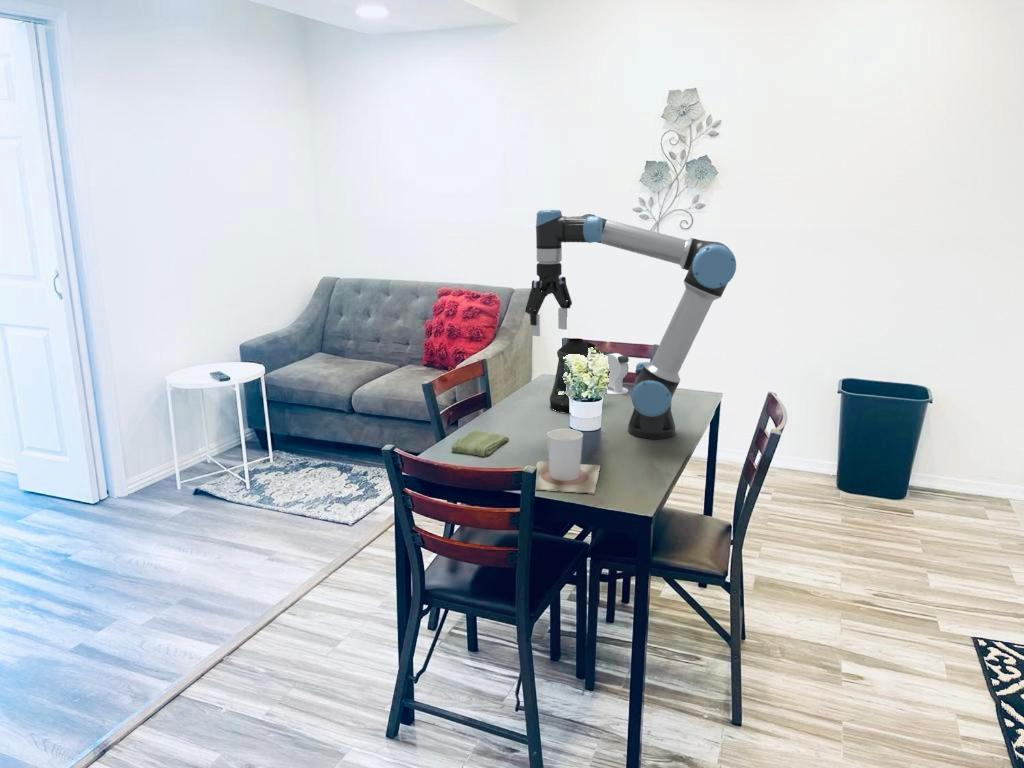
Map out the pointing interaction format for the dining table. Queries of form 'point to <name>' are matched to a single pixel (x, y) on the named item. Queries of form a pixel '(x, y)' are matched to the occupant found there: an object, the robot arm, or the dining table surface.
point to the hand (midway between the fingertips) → (549, 332)
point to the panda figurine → (617, 372)
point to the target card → (579, 485)
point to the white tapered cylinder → (564, 454)
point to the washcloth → (479, 443)
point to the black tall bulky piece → (571, 347)
